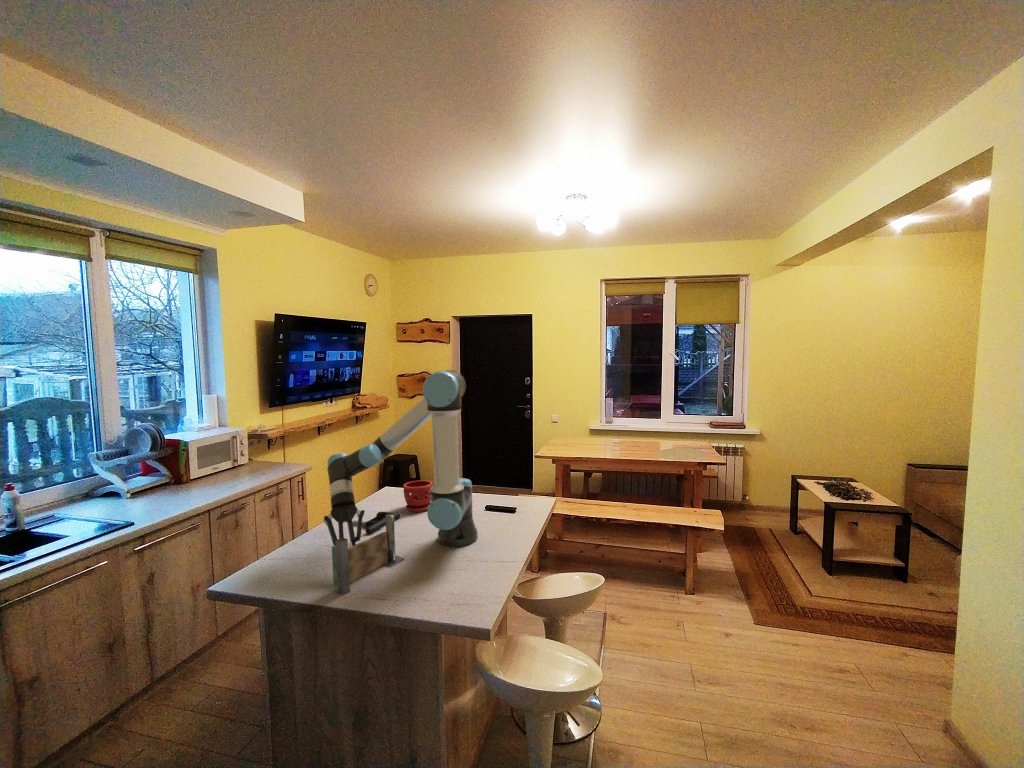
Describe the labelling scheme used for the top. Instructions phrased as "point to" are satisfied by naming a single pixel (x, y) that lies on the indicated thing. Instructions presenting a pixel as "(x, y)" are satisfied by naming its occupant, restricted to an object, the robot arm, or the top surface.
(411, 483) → the plant pot
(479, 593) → the top surface
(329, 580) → the top surface
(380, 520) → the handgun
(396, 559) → the hinge post
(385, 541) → the wooden board
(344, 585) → the post
